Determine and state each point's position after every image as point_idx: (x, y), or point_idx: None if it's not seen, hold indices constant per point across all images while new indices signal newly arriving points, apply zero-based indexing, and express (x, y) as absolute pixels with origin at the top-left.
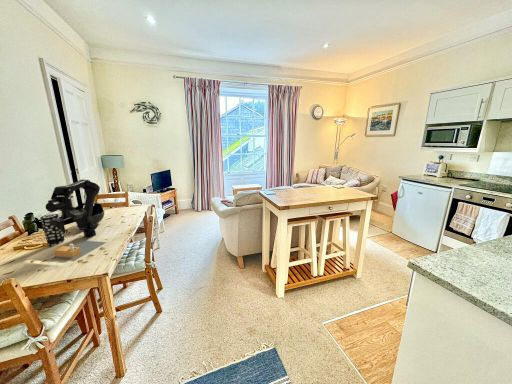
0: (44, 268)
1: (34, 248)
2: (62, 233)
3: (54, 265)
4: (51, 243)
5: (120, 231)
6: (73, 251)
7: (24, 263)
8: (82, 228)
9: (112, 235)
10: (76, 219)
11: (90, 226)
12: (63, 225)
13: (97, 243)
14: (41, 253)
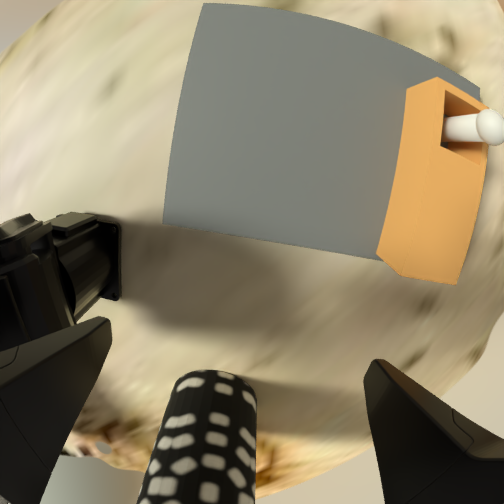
0: (494, 233)
1: (264, 448)
2: (177, 430)
3: (481, 200)
4: (255, 417)
5: (11, 102)
6: (477, 103)
7: (421, 375)
8: (71, 319)
9: (55, 99)
10: (35, 453)
11: (24, 236)
12: (496, 451)
13: (224, 58)
14: (329, 393)
